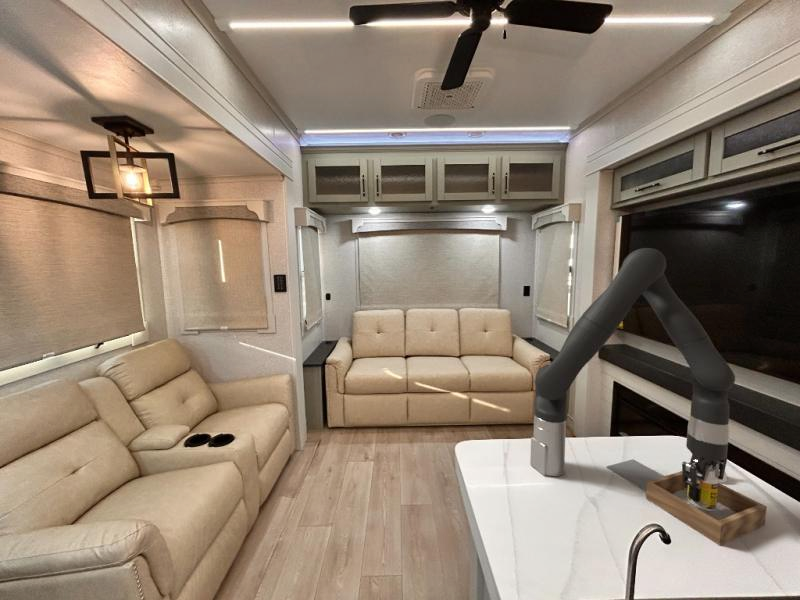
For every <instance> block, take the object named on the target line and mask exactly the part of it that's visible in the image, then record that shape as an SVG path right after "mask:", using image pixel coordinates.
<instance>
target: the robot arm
mask: <svg viewBox="0 0 800 600" xmlns="http://www.w3.org/2000/svg"><path fill="white" fill-rule="evenodd" d="M666 267H667V260H666V257H665V255H664V254H663V253H662V252H661V251H660V250H658V249H657V248H651V247H642V248H639V249H636V250H634V251H631V252H630V253H629V254H628V255H627V256H626V257H625V258H624V260H623V262H622V264H621V266H620V269H619V270H618V272H617V274H616V275H615V276H614V278H613V279H612V282H611V283H610V284H609V285H608V287H607V288H606V289H605V290H604V292H602V294H600V295H599V296H598V297H597V298H596V299H595V300H594V301H592V303H591V304H590V305H589V307H587V309H586V310H585V311H584V312H583V313H582V315H581V316H580V317H579V319H578V320H577V321H576V323H575V324H574V325H573V326H572V329H571V330H570V332H569V333H568V336H566V337H567V338H566V339H565V341H564V343H563V345H562V347H561V349H560V351H559V353H558V354H557V355H556V356H555V358H554V359H553V360H552V361H551V362H550V364H545V365H543V366H541V367H539V369H537V372H536V373H535V379H534V386H535V391H534V392H535V394H534V415H533V419H534V420H533V436H532V437H531V438H530V457H529V459H530V461H529V464H530V466H531V467H533V469H534V470H536V471H537V472H539V473H540V474H541V475H543V476H544V477H546V476H548V477H549V476H550V477H559V476H562V475H563V474H565V461H566V460H565V458H566V433H567V432H566V430H567V407H568V405H567V404H568V403H567V397H568V396H567V395H568V393H567V392H568V391H569V389H570V387H571V386H572V384H573V383H574V382H575V379H576V378H577V376H578V375H579V373H580V372H581V371H582V369H583V368H584V367H585V366H586V365H587V364H588V363H589V362H590V361H591V360H592V359H593V358H594V357H595V355H596V354H597V353H598V352H599V351H600V350H601V348H603V346H604V345H605V344H606V343H607V342H608V340H609V339H610V338H611V337H612V336H613V334H614V333H615V332H616V331H617V329H618V328H619V327H620V325H621V324H622V322H623V320H624V319H625V318H626V316H627V315H628V313H629V312H630V310H631V308H632V307H633V305H634V304H635V302H637V300H638V299H639V298H640V297H641V295H642V296H643V297H644V298H645V300H646V301H647V302H648V304H649V305H650V306H651V308H652V310H653V311H654V313H655V314H656V316H657V318H658V320H659V321H660V323H661V324H662V327H663V328H664V330H665V331H666V333H667V335H668V336H669V338H670V339H671V341H672V343H673V344H674V345H675V347H676V349H678V351H679V352H680V354H681V356H683V358H684V360H685V361H686V363H687V365H688V367H689V369H690V370H691V372H692V397H691V403H690V415H689V418H688V421H687V422H688V423H687V433H686V444H685V445H686V448H687V450H688V451H689V452H690V453H691V454H692V455H691V457H690V461H689V462H686V461H683V462H682V464H681V467H682V468H681V469H682V470H681V471H682V474H683V482H684V483H686V484H688V485H689V493H688V496H689V498H690V499H692V500H694V501H696V502H699V501H700V497H701V487H702V484H703V481H706V480H707V478H708V475H709V472H711V471H712V469H714V470H715V476H716V477H717V479H718V481H719V479H721V480H722V479H723V477H724V472H726V467H727V462H728V461H727V460H728V446H729V437H730V430H729V429H730V427H729V422H730V410H731V409H730V403H729V400H728V393H729V392H728V391H729V389H731V388H732V387H733V386H734V384H735V382H736V376H735V373H734V371H733V369H732V368H731V367H730V366H729V364H728V363H727V362H726V360H725V359H724V358H723V356H722V355H721V354H720V353H719V351H718V350H717V348H716V347H715V346H714V344H713V342H712V340H711V338H710V336H709V334H708V333H707V332H706V331H705V329H704V327H703V326H702V324H701V323H700V322H699V320H698V318H696V316H695V315H694V314H693V312H692V311H691V310H690V308H688V307H687V305H685V304H684V302H683V301H682V300H681V299H680V298H679V297H678V295H677V293H676V292H675V291H674V289H673V288H672V286H670V283H669V282H668V279H667V277H666V275H665V270H666ZM719 470H720V471H719ZM697 473H699V474H701V475H702V476H699V475H697ZM697 478H698V482H697Z"/></svg>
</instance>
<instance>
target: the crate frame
mask: <svg viewBox="0 0 800 600" xmlns="http://www.w3.org/2000/svg"><path fill="white" fill-rule="evenodd" d="M663 476H664V477H661V478H657V479H654V480H651V481H647V490H646V491H645V492H646V494H645V499H646V500H647V501H649V502H651V503H652V504H653V505H655V506H657V507H658V508H660V509H661V510H663V511H665V512H667V514H669V515H671V517H672V516H673V517H674V518H675V519H677V520H678V521H681V522H682V523H684V524H685V525H687V526H688V527H690V528H691V529H693V530H695V531H696V532H698V533H699V534H701V535H702V536H704V537H706V538H707V539H708V540H711V541H712V542H713V543H715V544H717V545H718V546H721V545H723V544H725V543H728V542H731V541H733V540H735V539H737V538H739V537H742V536H744V535H746V534H748V533H750V532H753V531H755V530H759V529H760V528H762V527H764V526H766V515H767V506H766V505H765V504H763V503H760V502H758V501H756V500H754V499H752V498H750V497H749V496H746V495H744V494H742V493H740V492H738V491H736V490H734V489H732V488H730V487H728V486H726V485H723V483H718V493H717V503H718V504H720V505H721V506H724V507H726V508H727V509H729V510H731V511H733V512H735V513H734V514H731V515H729V516H727V517H725V518H722V519H719V520H717V519H716V518H715V517H712V516H711V515H709V514H708V513H705V512H704V511H703V510H702V509H701V510H700V508H698V507H696V506H694V505H693V504H691V503H690V502H689V503H688V502H687V501H685V500H683V499H681V498H680V497H679V496H677V495H675V494H676V493H679V492H680V491H681V492H682V491H684V490H688V484H686V483H684V482H683V474H682V470H680V471H677V472H674V473H671V474H668V475H663Z"/></svg>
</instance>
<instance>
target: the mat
mask: <svg viewBox="0 0 800 600" xmlns="http://www.w3.org/2000/svg"><path fill="white" fill-rule="evenodd" d="M606 468H607V469H608V470H610V471H612V472H614V473H615V474H616V475H619V476H620V477H622V478H623V479H625V480H626V481H628V482H630V483H631V484H632V485H635V486H636V487H637V488H640V489H641V490H642V491H644V492H646V490H647V481H651V480H654V479H657V478H661V477H664V476H665V475H663V474H661V473H659V472H658V471H656V470H654V469H652V468H650V467H649V466H646V465H645V464H643V463H641V462H639V461H637V460H636V459H633V458H632V459H628V460H625V461H622V462H618V463H613V464H610V465H607V466H606Z"/></svg>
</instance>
